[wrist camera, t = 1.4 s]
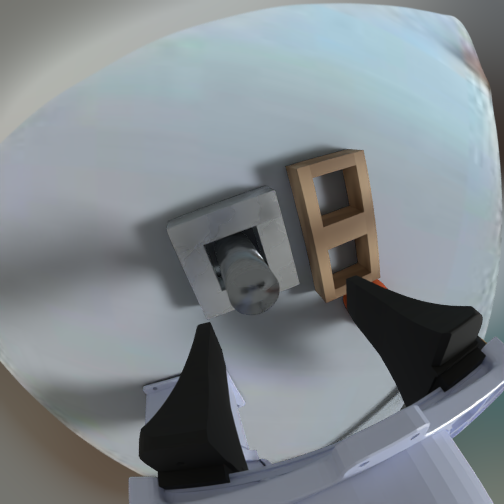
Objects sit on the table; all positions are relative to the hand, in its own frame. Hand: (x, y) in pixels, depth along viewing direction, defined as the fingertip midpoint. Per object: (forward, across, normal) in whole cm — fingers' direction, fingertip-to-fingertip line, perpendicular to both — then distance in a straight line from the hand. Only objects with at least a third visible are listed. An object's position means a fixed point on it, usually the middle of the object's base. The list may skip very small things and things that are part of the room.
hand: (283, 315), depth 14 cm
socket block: (+10, +1, 0) cm, 10 cm away
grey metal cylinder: (+10, +1, 0) cm, 10 cm away
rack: (+10, -8, +1) cm, 13 cm away
